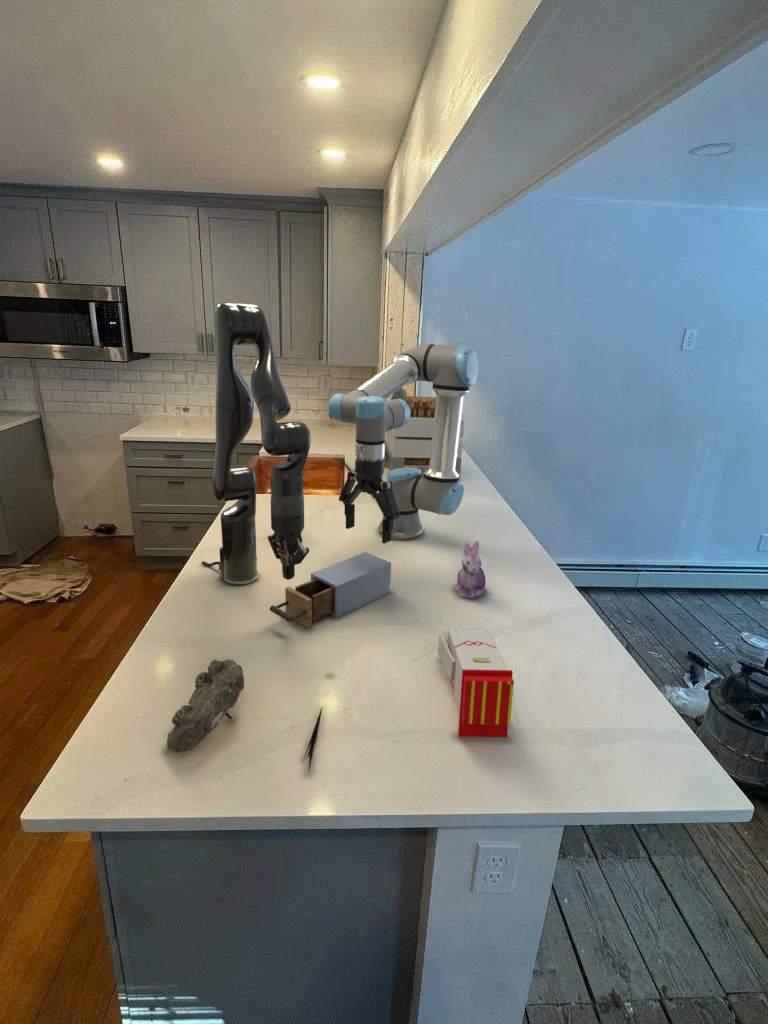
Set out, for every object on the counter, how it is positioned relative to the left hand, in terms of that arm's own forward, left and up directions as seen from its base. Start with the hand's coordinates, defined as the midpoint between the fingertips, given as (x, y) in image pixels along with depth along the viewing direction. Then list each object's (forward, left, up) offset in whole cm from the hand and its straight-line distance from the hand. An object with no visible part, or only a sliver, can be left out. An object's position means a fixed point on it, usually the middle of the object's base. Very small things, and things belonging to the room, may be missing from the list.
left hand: (288, 578), depth 135 cm
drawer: (+4, +8, -12) cm, 16 cm away
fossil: (0, -34, -13) cm, 37 cm away
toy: (+46, -11, -13) cm, 49 cm away
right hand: (+12, +24, +4) cm, 27 cm away
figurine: (+40, +34, -13) cm, 54 cm away
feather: (+19, -29, -13) cm, 37 cm away
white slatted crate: (0, +149, -13) cm, 150 cm away
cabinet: (+10, +19, -13) cm, 25 cm away
